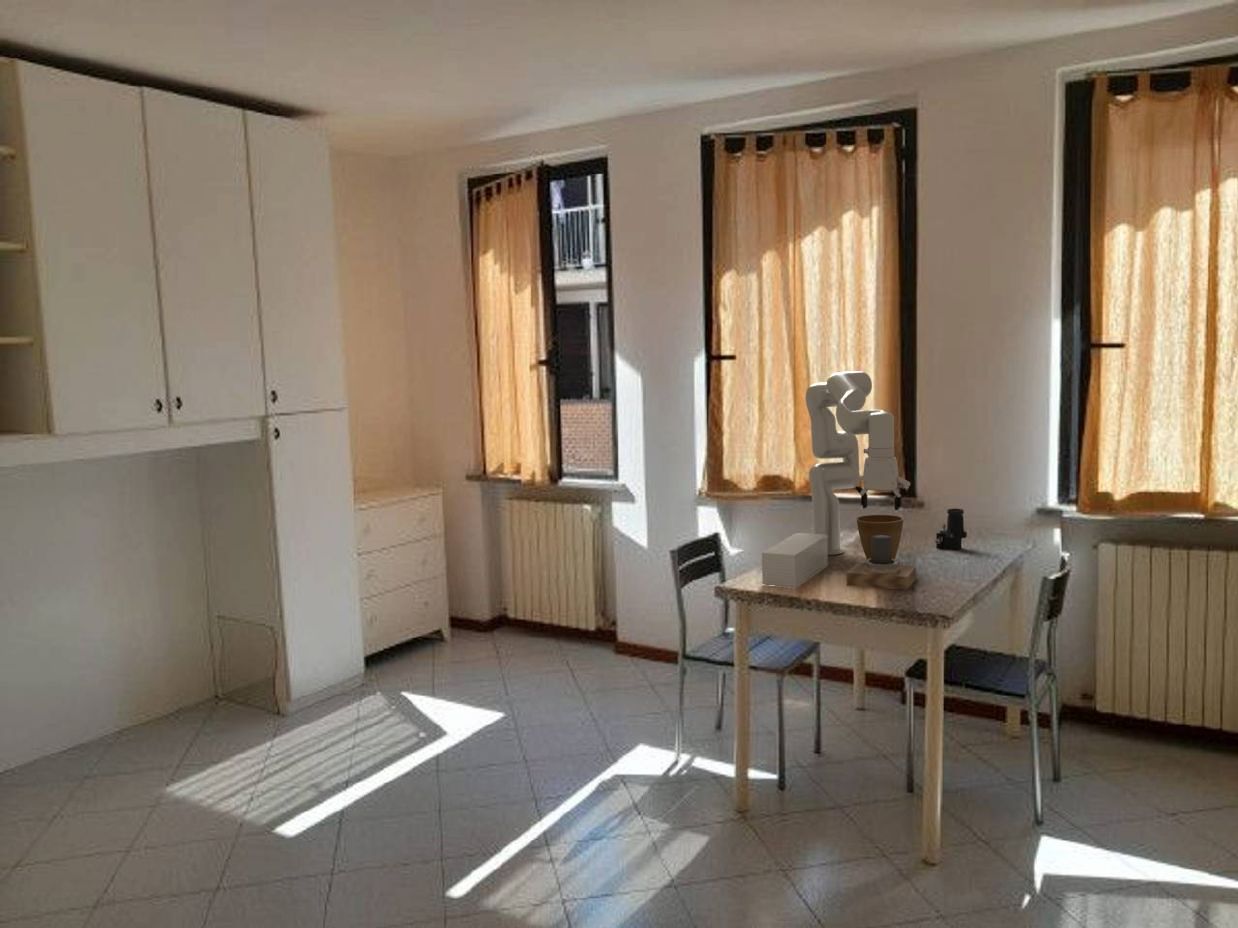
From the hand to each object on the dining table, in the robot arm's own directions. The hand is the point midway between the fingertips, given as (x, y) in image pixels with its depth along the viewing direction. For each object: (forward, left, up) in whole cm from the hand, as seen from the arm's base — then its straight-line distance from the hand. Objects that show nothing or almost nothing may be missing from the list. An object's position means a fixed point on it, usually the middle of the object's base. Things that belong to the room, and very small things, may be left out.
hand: (880, 508), depth 296 cm
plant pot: (-5, +21, -23) cm, 32 cm away
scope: (+13, +54, -23) cm, 60 cm away
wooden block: (0, 0, -23) cm, 23 cm away
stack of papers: (-27, 0, -24) cm, 36 cm away
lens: (0, 0, -19) cm, 19 cm away
